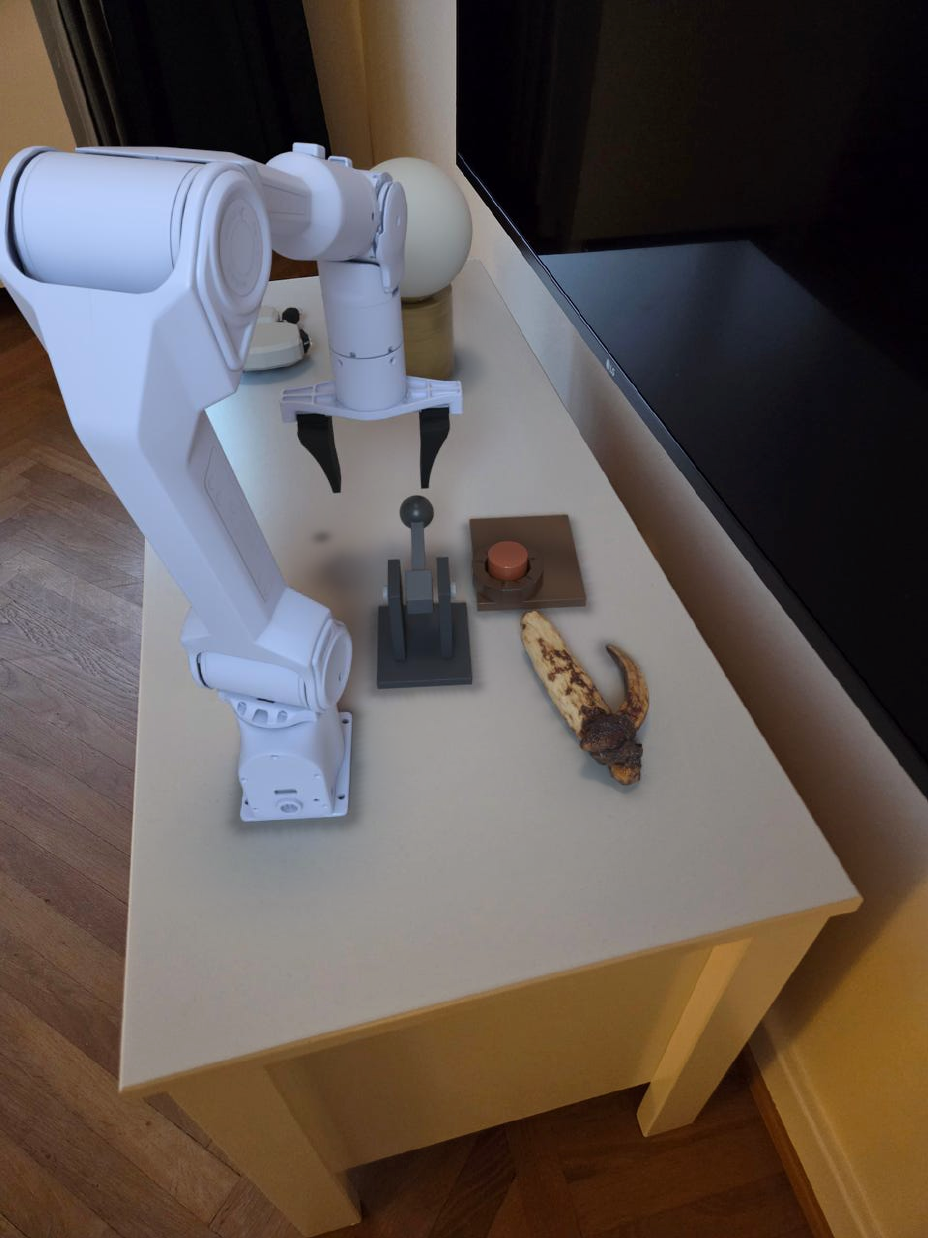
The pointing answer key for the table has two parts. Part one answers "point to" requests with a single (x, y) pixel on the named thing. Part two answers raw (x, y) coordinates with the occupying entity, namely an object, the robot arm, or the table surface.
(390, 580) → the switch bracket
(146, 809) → the table surface
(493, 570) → the warm button
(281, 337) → the robot toy
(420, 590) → the switch lever
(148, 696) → the table surface
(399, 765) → the table surface
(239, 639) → the robot arm
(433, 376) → the lamp
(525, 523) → the control block
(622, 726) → the lashed bone hook
